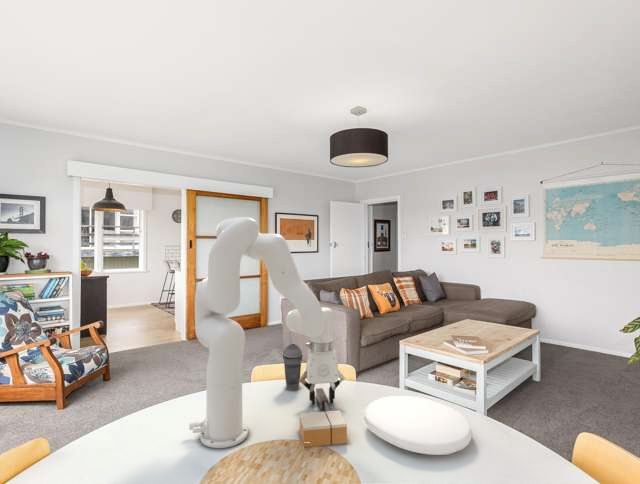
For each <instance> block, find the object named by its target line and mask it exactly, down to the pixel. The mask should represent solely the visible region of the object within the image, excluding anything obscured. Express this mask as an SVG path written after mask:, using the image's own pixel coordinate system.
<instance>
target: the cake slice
mask: <svg viewBox="0 0 640 484" xmlns="http://www.w3.org/2000/svg"><path fill="white" fill-rule="evenodd" d="M325 414H326V416H327V418H328V421H329V423H330V425H331V445H342V444H343V445H344V444H347V443H348V429H347V428H348V427H347V422H346V420H345V418H344V416H343V415H342V412H341V410H330V411H326V412H325Z"/></svg>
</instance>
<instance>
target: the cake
mask: <svg viewBox="0 0 640 484" xmlns="http://www.w3.org/2000/svg"><path fill="white" fill-rule="evenodd" d="M299 434H300V437H301V441H302V445H303V448H310V447H316V446H315V445H318V446H317V447H321V446H330V445H332V444H331V425H330V423H329V421H328V418H327V416H326V412H325V411H314V412H301V413H299ZM303 441H304V442H310V443H304V442H303Z"/></svg>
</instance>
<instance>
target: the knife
mask: <svg viewBox="0 0 640 484" xmlns="http://www.w3.org/2000/svg"><path fill="white" fill-rule="evenodd" d="M315 399H316V400H317V403H318V405H319V407H320V410H321V412H325V413H326V411H331V409H330V407H329V406H330V405H329V402H330V400H329V397H328V396H327V394H326V392H325V390H324V389H323V387H319V388H317V387H316V388H315Z"/></svg>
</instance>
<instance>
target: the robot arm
mask: <svg viewBox="0 0 640 484" xmlns="http://www.w3.org/2000/svg"><path fill="white" fill-rule="evenodd" d="M215 237H216V238H215V241H214V242H213V244H212V246H211V248H210V251H209V254H208V263H207V264H208V265H207V266H208V267H207V277H206V278H205V279H203V280H202V281H201V282H200V283H199V284H198V286H197V288H196V290H195V294H194V329H195V330H194V331H195V336H196V339H197V340H198V342H199V343H200V344H201V345H202V346H204V347H205V348H206V349H208V350H209V351H208V352H209V353H208V359H207V363H206V370H205V371H206V376H205V377H206V378H205V379H206V416H205V419H201V420H200V421H197V420H196V421H190V422H189V425H188V427H189V430H190V431H192V434H197V433H200V436H199V439H200V442H201V443H202V445H204V446H206V447H209V448H213V449H227V448H230V447H234V446H236V445H239V444H240V443H242V442H244V441H245V440H246V439H247V438H248V435H249V428H248V426H247V425H246V424H245V423H243V361H244V360H243V359H244V353H245V352H244V351H245V347H246V334H245V331H244V328H243V327H242V325H241V324H240V323H239V322H237V321H236V320H234V319H231V318H229V317H227V315H229V314H232V313H234V312H235V311H236V310H237V309H238V308H239V306H240V303H241V261H242V257H243V256H245V257H248V258H250V259H253V260H255V261H261V262H263V263H264V266H265V268H266V271H267V273H268V275H269V278H270V281H271V283H272V285H273V287H274V289H275V290H276V291H277V292H278V293H279V294H280V295H281V296H282V297H284V298H285V299H287V300H288V301H289V302H290V303H291V304H292V305H293V306H294V309H292V310H290V311H289V312H288V313H287V314H286V317H285V325H286V327H287V329H289V330H290V332H293V333H296V334H299V335H302V336H304V337H308V338H309V342H306V343H305V347H306V348H309V349H308V350H307V355H306V369H305V371H304V372H303V373H302V374H301V375H300V379H299V381H300V384H302V385H303V386H304V387H305V388H306V389H307V390H308V391H309V401H310V402H311V404H312V405H315V404H316V390H315V386H316V385H317V384H318V385H319V384H329V388H328V400H329V402H330V403H331V404H333V403H334V400H335V399H336V390H337V388H338V387H339V386H340V385H341V383H342V382H343V381H344V380H345V379H346V377H345V376H344V374H342V372H341V371H340V370H339V362H338V353H337V350H336V349H335V348H334V311H333V309H332V308H330V307H326V306H321V304H320V301H319V299H318V298H317V296H316V295H315V293H314V292H313V291H312V290H311V288H310V287H309V286H308V285H307V283H306V282H305V281H304V280H303V279H302V277H301V276H300V273H299V271H298V269H297V265H296V263H295V261H294V258H293V255H292V253H291V250H290V248H289V245H288V242H287V241H286V238H285V237H284V236H282V235H281V234H278V233H272V232H271V233H261V232H260V225H259V223H258V221H256V219H254V218H252V217H249V216H239V217H231V218H226V219H224V220H222V221H220V222H219V224H218V225H217V226H216V229H215ZM306 380H307V381H306Z"/></svg>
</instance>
